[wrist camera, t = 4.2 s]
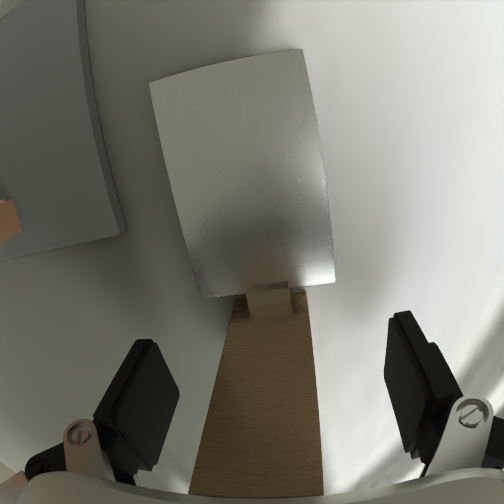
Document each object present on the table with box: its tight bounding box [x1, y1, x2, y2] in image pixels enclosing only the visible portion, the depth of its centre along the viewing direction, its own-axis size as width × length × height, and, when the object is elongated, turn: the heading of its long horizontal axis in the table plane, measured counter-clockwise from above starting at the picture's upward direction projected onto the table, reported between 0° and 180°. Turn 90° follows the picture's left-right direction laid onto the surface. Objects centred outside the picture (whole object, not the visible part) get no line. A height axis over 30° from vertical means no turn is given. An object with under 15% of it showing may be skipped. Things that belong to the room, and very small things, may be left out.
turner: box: [149, 49, 335, 499], centre depth 7 cm, size 11×5×8 cm, turn 11°
